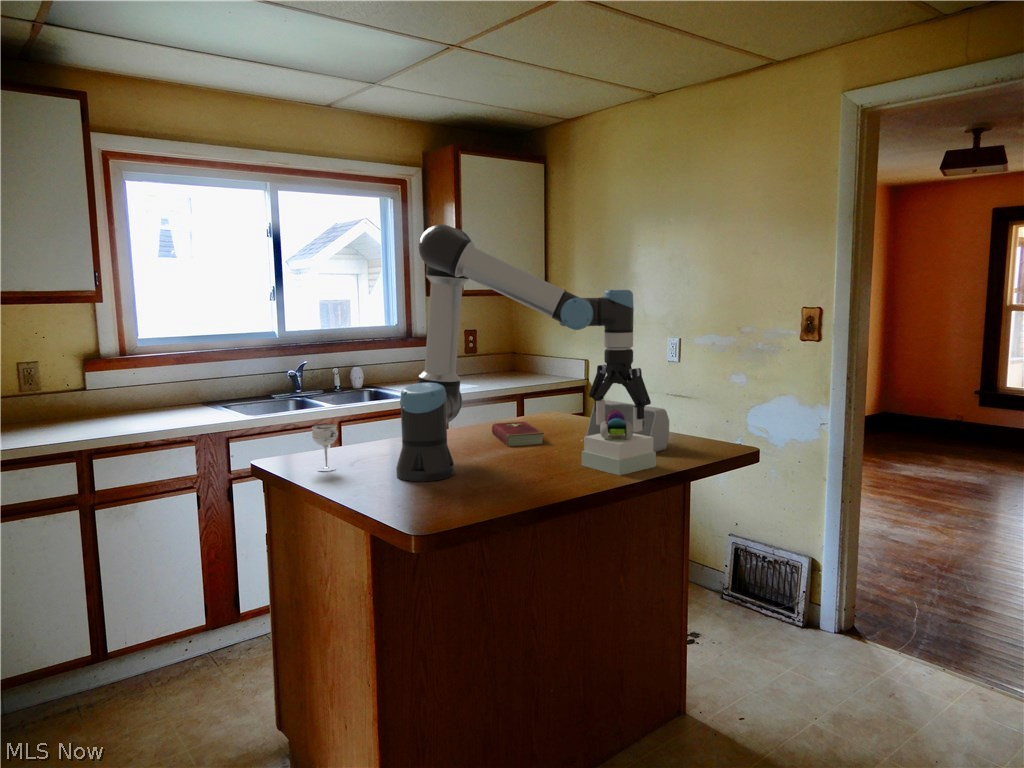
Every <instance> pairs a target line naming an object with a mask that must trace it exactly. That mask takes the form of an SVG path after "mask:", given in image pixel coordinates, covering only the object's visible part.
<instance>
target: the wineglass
mask: <svg viewBox="0 0 1024 768" xmlns="http://www.w3.org/2000/svg"><path fill="white" fill-rule="evenodd" d="M337 427H338V424H333V423H330V424H329V423H327V424H326V423H325V424H324V423H323V424H318V425H317V424H315V425H313V426H311V429H312V433H311V437H312V439H313V441H314V442H315V443H316V444H317V445H320V446H322V447H323V450H324V458H325V459H324V460H325V466H324V467H323V468H329V467H330V466H328V448H329V445H331V444H334V442H335V441H336V440H337V439H338V435H339V432H338V429H337Z"/></svg>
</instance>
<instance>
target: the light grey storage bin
mask: <svg viewBox="0 0 1024 768" xmlns="http://www.w3.org/2000/svg"><path fill="white" fill-rule="evenodd" d="M634 406H635V404H634V403H627V402H621V401H615V400H605V421H607V416H608V414H609V413H610V412H611V411H614V410H617V411H620V412H621V413H622V414H623V415H624V417H625V421H627V422H629V423H630V424H631V425H632V427H633V407H634ZM600 425H601V424H600ZM600 425H596V412H595V403H594V404H593V406H592V411H591V415H590V418H589V423H588V427H587V430H586V435H585V436H590V435H595V434H600V433H601V432H600ZM633 433H634V434H639V435H644V436H649V437H653V451H654V452H656V453H657V452H662V451H665V450H666V449H667V446H668V442H669V438H670V418H669V415H668V411H666V409H665V408H662V407H656V406H650V405H646V406H645V407H644V419H642V431H639V432H633Z"/></svg>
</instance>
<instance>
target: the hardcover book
mask: <svg viewBox="0 0 1024 768" xmlns="http://www.w3.org/2000/svg"><path fill="white" fill-rule="evenodd" d="M491 433H492V435H494V436H495V437H496V438H497V439H498V440H499V441H501V442H502V443H503V444H504V445H505V446H507V447H515V446H516V447H517V446H529V445H541V444H544V443H543V442H544V441H543V435H544V434H545V432H543V431H542V430H541V429H539V428H538V427H536V426H534V425H533V424H532V423H530V422H528V421H526V420H525V421H524V420H523V421H509V422H493V423H492V425H491Z"/></svg>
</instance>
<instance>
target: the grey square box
mask: <svg viewBox="0 0 1024 768" xmlns="http://www.w3.org/2000/svg"><path fill="white" fill-rule="evenodd" d="M656 455H657V452H654V451H653V437H649V436H644V435H639V434H634V433H633V436H632V437H631V438H629V439H626V436H625V434H624V435H610V434H609V433H608V439H604V438H603V437H602V436H601V433H600V434H595V435H590V436H586V435H585V436H584V437H583V450H581V466H582V467H586V468H590V469H594V470H597V471H602V472H603V473H609V474H612V475H616V476H624V475H627V474H631V473H635V472H639V471H642V470H648V469H651V468H652V469H653V468H655V467H656V466H657V462H656V461H657V456H656Z"/></svg>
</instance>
